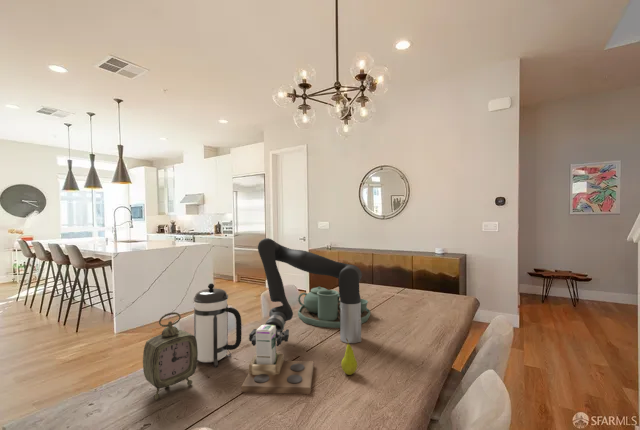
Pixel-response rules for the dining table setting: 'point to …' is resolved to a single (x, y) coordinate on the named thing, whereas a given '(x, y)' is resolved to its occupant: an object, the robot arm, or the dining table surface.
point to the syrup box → (266, 345)
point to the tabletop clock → (170, 356)
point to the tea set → (325, 308)
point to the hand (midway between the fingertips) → (265, 343)
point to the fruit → (349, 361)
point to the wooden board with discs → (279, 377)
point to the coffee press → (213, 325)
